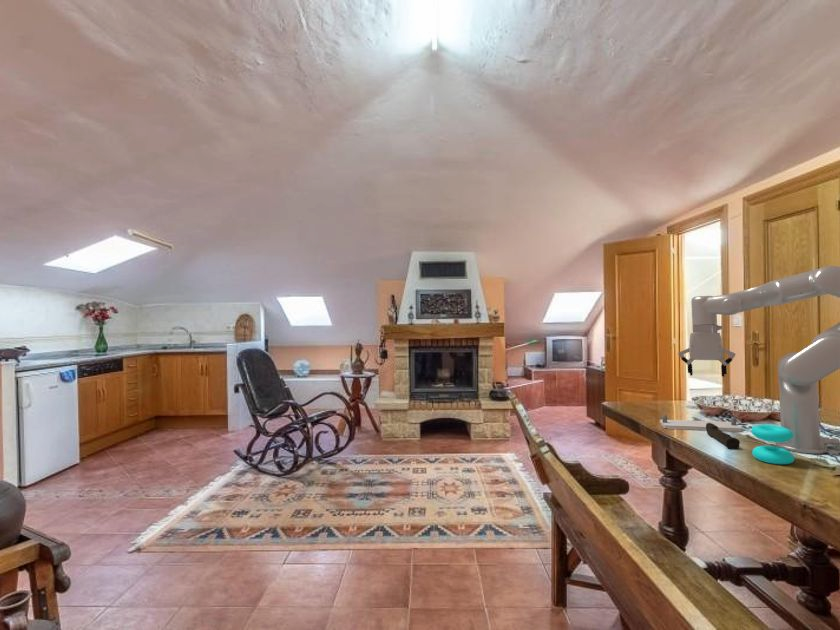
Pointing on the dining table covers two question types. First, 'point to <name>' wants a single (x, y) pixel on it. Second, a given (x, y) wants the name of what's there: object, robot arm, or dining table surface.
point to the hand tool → (722, 436)
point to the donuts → (772, 452)
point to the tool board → (700, 424)
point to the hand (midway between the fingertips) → (706, 375)
